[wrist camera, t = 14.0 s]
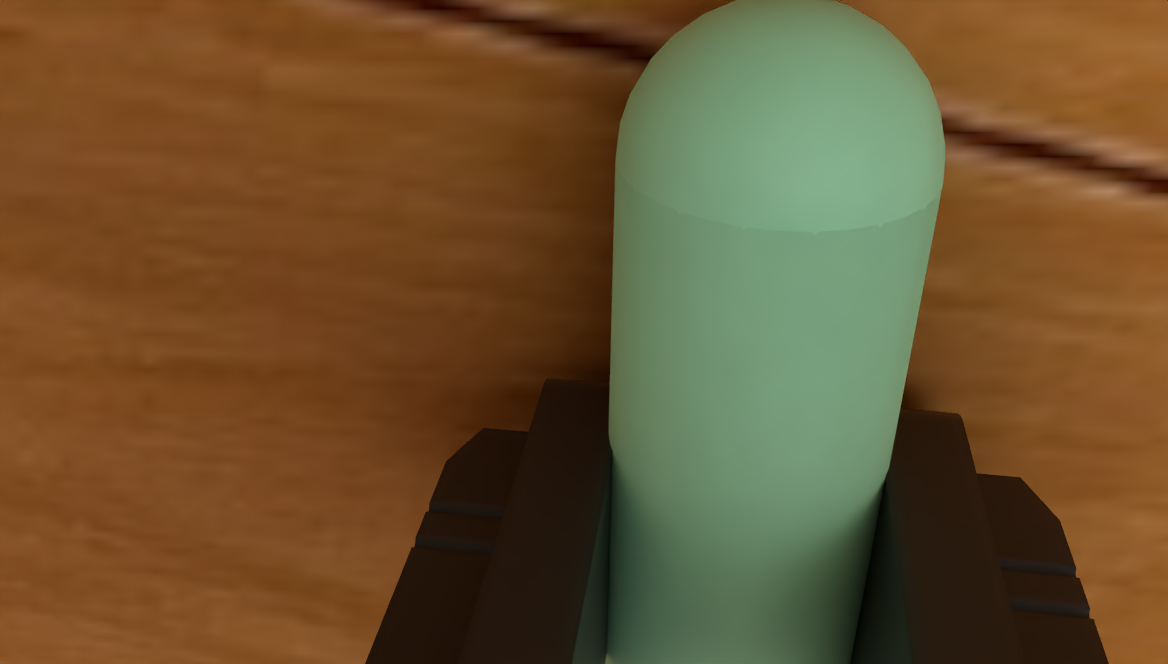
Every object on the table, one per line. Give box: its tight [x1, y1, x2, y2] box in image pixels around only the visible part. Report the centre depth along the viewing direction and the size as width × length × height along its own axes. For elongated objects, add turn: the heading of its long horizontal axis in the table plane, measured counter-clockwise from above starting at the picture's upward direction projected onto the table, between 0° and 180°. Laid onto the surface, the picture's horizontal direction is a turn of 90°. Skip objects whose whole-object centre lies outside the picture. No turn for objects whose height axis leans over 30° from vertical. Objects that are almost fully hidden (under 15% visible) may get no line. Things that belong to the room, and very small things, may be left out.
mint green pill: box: [605, 0, 946, 664], centre depth 9 cm, size 9×2×2 cm, turn 0°
